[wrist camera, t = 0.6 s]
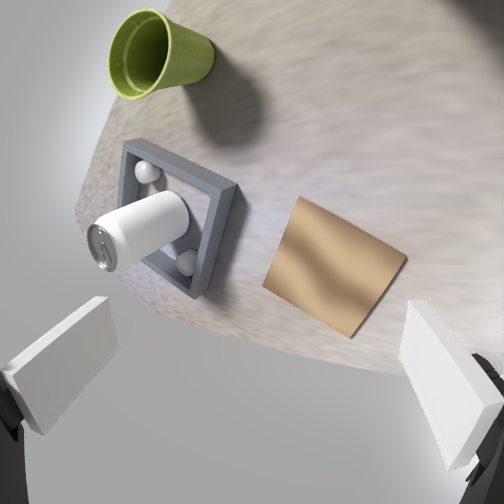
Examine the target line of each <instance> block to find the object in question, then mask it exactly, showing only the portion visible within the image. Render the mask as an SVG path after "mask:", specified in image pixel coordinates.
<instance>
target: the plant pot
mask: <svg viewBox="0 0 504 504" xmlns="http://www.w3.org/2000/svg"><path fill="white" fill-rule="evenodd" d="M214 57H215V52H214V48H213V46H212V44H211V43H210V41H209V39H208V38H207V37H205V36H203V35H201V34H199V33H197V32H194V31H192V30H190V29H187V28H185V27H183V26H180V25H178V24H176V23H173V22H172V21H171V20H169V19H168V18H166V16H165V15H164V14H163V13H161V12H160V11H158V10H155V9H151V8H145V9H140V10H138V11H135V12H133V13H132V14H130V15H129V16H128V17H127V18H126V19H125V20H124V21H123V22H122V23H121V24H120V26H119V27H118V29H117V30H116V32H115V34H114V36H113V39H112V41H111V44H110V48H109V53H108V60H107V68H108V75H109V79H110V82H111V85H112V87H113V89H114V90H115V91H116V93H117V94H118V95H119V96H121V97H122V98H124V99H127V100H137V99H141V98H143V97H145V96H147V95H149V94H150V93H152V92H154V91H156V90H158V89H163V88H168V87H173V86H179V85H185V84H192V83H196V82H198V81H200V80H201V79H202V78H203V77H205V76H206V75H207V74H208V73H209V72H210V70H211V68H212V66H213V63H214Z"/></svg>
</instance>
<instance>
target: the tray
mask: <svg viewBox="0 0 504 504" xmlns="http://www.w3.org/2000/svg"><path fill="white" fill-rule="evenodd" d="M142 159H144V161H142ZM161 169H163V170H165V171H167V172H169V173H171V174H173V175H175V176H177V177H179V178H181V179H183V180H185V181H187V182H188V183H190V184H192V185H194V186H196V187H198V188H200V189H202V190H204V191H206V192H207V193H209V194H211V195H212V196H211V200H210V204H209V208H208V212H207V217H206V221H205V225H204V229H203V233H202V238H201V242H200V246H199V251H198V252H197V251H195V250H193V249H189V250H187V251H186V252H184V253H182V254H181V255H179V256H178V257H177V258H176V261H175V260H173V259H172V258H170V257H169V256H167V255H166V254H164V253H163V252H162V251H160V250H159V249H158V250H157V251H155V252H153V253H151V254H150V255H148V256H146V257H144V258H143V259H141V260H140V261H142V262H143V263H144V264H146V265H147V266H148V267H150V268H151V269H152V270H154V271H155V272H156V273H158V274H159V275H160V276H162V277H163V278H165V279H166V280H167V281H169V282H170V283H172V284H173V285H174V286H176V287H177V288H179V289H180V290H181V291H183V292H184V293H186V294H187V295H188V296H190V297H191V298H193V299H194V300H195V299H196V298H198V297H199V296H200V295H201V294H202V293H204V292H205V291H206V290H207V289H208V287H209V283H210V279H211V275H212V272H213V268H214V264H215V261H216V257H217V253H218V250H219V246H220V242H221V239H222V235H223V232H224V228H225V225H226V221H227V218H228V214H229V211H230V207H231V204H232V200H233V197H234V193H235V190H236V186H237V184H236V183H234V182H232V181H230V180H228V179H226V178H224V177H222V176H220V175H218V174H216V173H214V172H212V171H210V170H208V169H206V168H204V167H202V166H200V165H198V164H196V163H193V162H191V161H189V160H187V159H185V158H183V157H181V156H179V155H176V154H174V153H172V152H170V151H168V150H166V149H163V148H161V147H159V146H157V145H155V144H152V143H150V142H148V141H146V140H143V139H141V138H139V139H134V140H129V141H124V142H123V149H122V158H121V167H120V178H119V190H118V204H117V209H119V208H122V207H124V206H126V205H129V204H131V203H134V202H136V201H137V198H138V189H139V182H140V183H142V184H146V183H149V182H152V181H155V180H158V179H159V178H160V176H161Z"/></svg>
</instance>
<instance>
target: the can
mask: <svg viewBox="0 0 504 504" xmlns="http://www.w3.org/2000/svg"><path fill="white" fill-rule="evenodd" d="M188 226H189V212H188V209H187V207H186V205H185V203H184V201H183V200H182V199H181V198H180V197H179V196H178V195H176V194H175V193H173V192H171V191H163V192H160V193H157V194H155V195H152V196H149V197H147V198H144V199H142V200H139V201H136V202H134V203H131V204H129V205H126V206H124V207H122V208H119V209H117V210H114V211H112V212H110V213H107V214H105V215H103V216H101V217H100V218H99V219H98V220H97V221H96V222H95V224H92V225H90V226H89V228H88V231H87V241H88V246H89V249H90V251H91V254H92V256H93V258H94V259H95V261H96V262H97V264H98V265H99V266H100V267H101V268H102V269H104V270H105V271H108V272H113V271H114V270H121V269H125V268H127V267H129V266H130V265H132V264H134V263H136V262H137V261H139V260H141V259H143V258H144V257H146V256H148V255H150V254H151V253H153V252H155V251H157V250H158V249H160V248H162V247H164V246H165V245H167V244H169V243H170V242H172V241H174V240H176V239H177V238H179V237H181V236H182V235H184V234H185V233H186V231H187V229H188Z"/></svg>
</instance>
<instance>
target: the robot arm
mask: <svg viewBox="0 0 504 504" xmlns="http://www.w3.org/2000/svg"><path fill="white" fill-rule="evenodd" d="M119 349H120V346H119V342H118V338H117V334H116V330H115V326H114V322H113V317H112V313H111V309H110V304H109V300H108V297H97V296H96V297H94V298H93V299H91V300H90V301H88V302H87V303H86V304H84V305H83V306H82V307H80V308H79V309H78V310H77V311H75V312H73V313H72V314H71V315H69V316H68V317H67V318H66V319H64V320H63V321H62V322H60V323H59V324H58V325H56V326H55V327H54V328H52V329H51V330H50V331H48V332H47V333H46V334H44V335H43V336H42V337H41V338H39V339H38V340H37V341H35V342H34V343H33V344H32V345H30V346H29V347H28V348H27V349H25V350H24V351H23V352H22V353H20V354H19V355H18V356H17V357H15V358H14V359H13V360H12V361H10V362H9V363H8V364H7V365H6V366H4V367H3V368H2V369H1V370H0V504H29V501H28V493H27V484H26V472H25V456H24V429H23V426H22V424H21V423H20V422H21V421H22V420H23V419H24V418H25V420H26V422H27V423H28V425H29V427H30V428H31V430H33V431H35V432H37V433H39V434H41V435H43V436H45V435H46V434H47V433H48V431H49V430H50V429H51V427H53V425H54V424H55V423H56V422H57V420H58V419H59V418H60V417H61V416H62V415H63V413H64V412H65V411H66V410H67V409H68V408H69V406H70V405H71V404H72V403H73V402H74V400H75V399H76V398H77V397H78V396H79V394H80V393H81V392H82V391H83V390H84V389H85V388H86V386H87V385H88V384H89V383H90V382H91V381H92V380H93V378H94V377H95V376H96V375H97V374H98V373H99V372H100V370H101V369H102V368H103V367H104V366H105V365H106V364H107V362H108V361H109V360H110V359H111V358H112V357H113V356H114V355H115V353H116V352H117V351H118V350H119ZM398 357H399V359H400V361H401V363H402V365H403V367H404V369H405V371H406V373H407V376H408V378H409V380H410V382H411V384H412V386H413V388H414V391H415V393H416V395H417V397H418V399H419V402H420V404H421V406H422V408H423V411H424V413H425V415H426V417H427V420H428V423H429V425H430V427H431V430H432V432H433V435H434V437H435V439H436V442H437V444H438V447H439V449H440V452H441V455H442V457H443V460H444V462H445V465H446V468H447V470H448V471H449V470H452V469H456V468H459V467H462V466H465V465H468V464H469V462H470V461H471V459H472V458H473V456H474V455H475V453H476V454H477V456H478V458H479V462H478V464H477V465H476V467H475V468H474V469H473V471H472V472H471V473H470V475H469V476H468V478H467V479H466V481H467V482H468V481H469V480H470V481H469V484H468V486H467V488H466V490H465V493H464V495H463V497H462V499H461V501H460V503H459V504H504V380H503V379H502V378H500V375H499V374H498V373H497V372H496V371H494V368H493V367H492V365H491V364H490V363H489V362H488V360H486V359H485V358H483V357H482V356H480V355H478V354H477V353H476V354H470V352H469V351H468V350H467V349H466V347H465V346H464V345H463V344H462V343H461V341H460V340H459V339H458V338H457V337H456V335H455V334H454V333H453V332H452V331H451V329H450V328H449V327H448V326H447V325H446V323H445V322H444V321H443V320H442V319H441V318H440V316H439V315H438V314H437V313H436V312H435V311H434V310H433V309H432V307H431V306H430V305H429V304H428V303H427V302H426V301H425V300H409V301H408V307H407V313H406V319H405V325H404V330H403V335H402V340H401V345H400V350H399V355H398ZM470 478H471V479H470Z"/></svg>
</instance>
